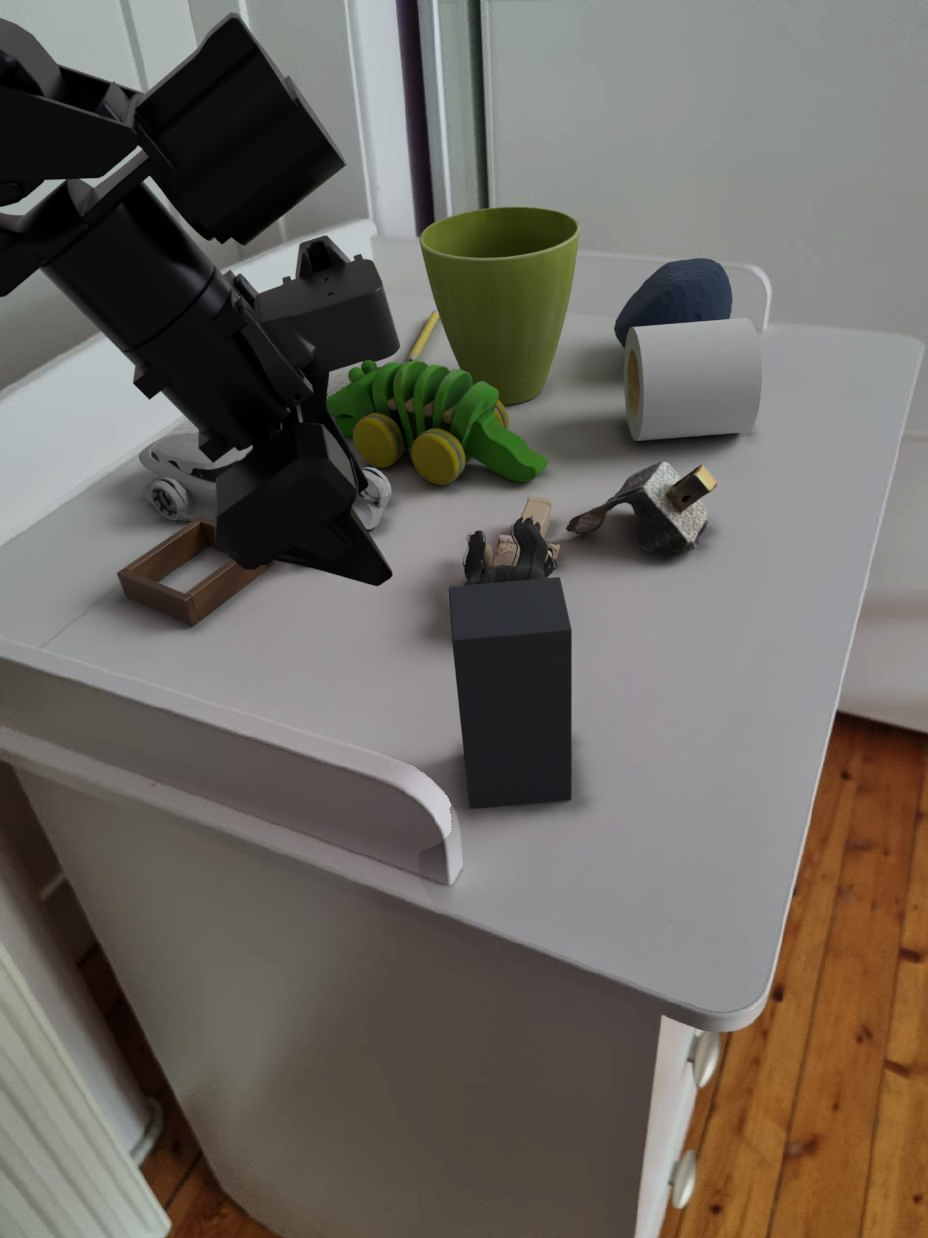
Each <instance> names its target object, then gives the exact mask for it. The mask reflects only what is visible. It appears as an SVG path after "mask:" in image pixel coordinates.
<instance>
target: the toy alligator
mask: <svg viewBox="0 0 928 1238" xmlns="http://www.w3.org/2000/svg"><path fill="white" fill-rule="evenodd" d="M347 378H348V381H349V382H350V383H348V384H347V385H345V386H343V387H342V388H340V389H338V390H337V391H336V392H334V393H332V394H331V395H329V396H327V399H326V401H327V403H328V405H329V407H330V409H331V411H332V413H333V415H334V417H335V419H336V421H337V423H338V425H339V427H340V429H341V431H342V432H343V434H344V436H345V437H349V438H352V441H353V444H354V447H355V450H356V451H357V453H358V455H359V456H360V457H361V458H362V459H363V460H364V461H365V462H366V463H368V464H369V465H370V466H372V467H374V468H378V469H384V468H385V469H386V468H388V467H389V466H392V465H394V464H395V463H397V461H398V460H400V458H401V457H402V455H403V454H404V453H405V452H406V451H408V453H409V456H410V460H411V462H412V464H413V465H414V468H415V470H416V471H417V472H418V473H419V475H420V476H421V477H422V478H424V479H425V480H426V481H428V482H430V483H431V484H434V485H438V486H446V485H448V484H450V483H452V482H454V481H456V480H457V479H458V478H460V475H461V474H462V473H463V471H464V469H465V466H466V463H468V461H470V460H471V459H474V460H476V461H478V462H479V463H480V464H482V465H484V466H485V467H486V468H489V470H491V471H493V472H495V473H496V474H498V475H500V476H502V477H504V478H505V479H508V480H510V481H513V482H516V483H517V482H518V483H525V482H530V481H531V480H533V479H535V478H536V477H538V476H539V475H540V474H541V473H542V472H543V471H544V470H545V468H547V466H548V465H549V459H548V457H546V456H545V455H542V454H540V453H538V452H535V451H534V450H533V449H532V448H530V446H529V445H528V444H527V443H526V442H525V441H524V440H523V439H522V437H521V436H519V435H517V433H515V432H512V431H510V430H509V428H510V427H509V426H510V419H509V415H508V411H507V409H506V407H505V405H503V404H502V403H501V402H500V401H499V400H498V395H499V392H498V390H497V389H495V388H494V387H492V386H490V385H489V384H487V383H486V382H484V381H480V382H478V383H476V384H474V385H473V383H472V377H471V375H470V374H469V373H468V372H466V371H463V370H461V369H460V368H457V369H453V370H450V369H449V368H448V367H447V366H445V365H441V364H431V365H429V364H428V363H427V362H425V361H421V360H416V361H407V362H404V363H403V362H402V363H401V362H400V363H399V362H388V363H385V364H383V365H382V366H378V365H377V362H374V361H371V360H366V361H363V362H361V365H360V367H358V366H355V367H352V368H351V369H349V371H348V373H347ZM472 385H473V386H472Z"/></svg>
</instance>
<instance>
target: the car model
mask: <svg viewBox="0 0 928 1238" xmlns="http://www.w3.org/2000/svg"><path fill="white" fill-rule="evenodd" d="M198 435H199V432H180V433H174V434H171V435H168V436H167V435H166V436H164V437H161V438H159V439H158V440H155V441H153V442H152V443H150V444H149V445H147V446H146V447H145V448H143V450H141V451H140V452H139V455H138V460H139V462H140V464H141V465H142V467H144V468H145V469H146V470H148V471H149V472H151V473H152V474H154V475H155V476H156V477H154V479H152V480H151V481H150V482H149V483H148V484H146V486H144V487H143V489H142V492H141V493H142V496H143V497H144V498H145V499H146V500H147V501H148V502H149V503H150V504H151V505H152V506H153V507H154V508H155V509H156V510H157V512H158V513H159V514H160V515H161V516H162V517H163V518H165V519H166V520H170V521H172V522H173V521H175V522H176V521H178V522H181V521H183V522H185V521H186V522H192V521H194V520H195V519H196V518H198V517H199V516H203V517H206V518H209V519H212V520H215V490H216V478H217V477H218V476H220V475H221V474H222V473H224V472H225V471H227V470H228V469H229V468H231V467H232V466H233V465H235V464H236V463H237V462H239V461H240V460H241V459H243V458H244V457H245V456H247V455H248V454H250V453H251V452H252V451H253V445H252V446H250V447H249V448H247V449H244V450H242V451H238V450H237V449H236V448H235V447H234V448H233V449H231V450H230V451H229V452H227V453H226V454H225V455H223V456H222V457H221V458H219V459H218V460H217V461H215V462H214V463H213V462H212V461H211V460H210V459H209V458H208V457H207V456H206V455H205V454H204V453H203V452H202V451H201V450H200V449H199V448H198ZM361 469H362V471H363V473H364V474H365V476H366V478H367V480H368V482H370V483H371V484H372V485H373V486H374V487H375V489H376V490H377V497H374V496H372V495H371V494H369V492H368V491H367V489H365V490H364V491H362V492H361V493H359V494H358V496H357V498H356V500H355V501H354V503H353V505H352V507H353V509H354V510H355V512H356V513H357V515H358V517H359V518H360V520H361V521H362V523H363V524H364V526H365V528H366V529H367V531H368V532H371V531H372V530H374V529H375V528H377V527H378V526H379V523H380V521H381V519H382V516H383V514H384V511H385V509H386V507H387V506H388V503H389V501H390V499H391V497H392V492H393V491H392V486H391V483H390V482H389V480H388V477H387V476H385V475H384V473H383V472H382V471H381V470H379V469H377V468H376V467H369V466H367V467H363V468H361Z"/></svg>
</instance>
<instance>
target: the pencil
mask: <svg viewBox="0 0 928 1238" xmlns="http://www.w3.org/2000/svg"><path fill="white" fill-rule="evenodd" d="M439 319H440V316H439V313H438V310H437V309H434V310H433V311H432V312H431V314H430V316H429V318H428V320H427V321H426V323H425V325H424V326H423V329H422V331H421V332H420V334H419V336H418V338H417V340H416V341H415V344H414V346H413V347H412V348H411V350H410V353H409V355H408V360H409V361H418V358H419V357H420V354H421V353H422V350H423V348H424V346H425V345H426V343H427V341H428V339H429V337H430V335H431V333H432V332H433V330H434V328H435V326H436V323H437V322H438V320H439ZM409 361H408V362H409Z"/></svg>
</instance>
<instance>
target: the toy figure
mask: <svg viewBox="0 0 928 1238" xmlns="http://www.w3.org/2000/svg"><path fill="white" fill-rule="evenodd" d="M551 509H552V499H551V498H548V497H547V498H546V497H538V496H537V497H536V496H527V501H526V504H525V505H524V508H523V510H522V512H521V515H520V517H519V518H518V519H517V520H514V521H513V523H512V524H511V525H510V531H509V533H510V535H507V534H497V541H496V551H495V554H494V553H493V550H492V548H491V545H490V544H489V543H487V538H486V534H485V533H484V531H483V530H482V529H481V530H479V529H477V530H476V531H474V532H473V531H471V532H469V533H468V534H467V535H466V537H465V538H466V541H467V547H466V550H465V553H464V555H463V558H462V567H463V573H464V576H465V578H464V579H463V581H462V582H461V584H460V585H459V586H464V585H476V584H487V583H498V582H509V581H521V580H532V579H543V578H549V576H551V574H553V572H554V571H555V570H557V568H558V563H557V562H556V560H557V559H558V556H559V554H560V550H561V545H560V544H559V543H556V544H553V543H547V542H546V540H545V538H546V535H547V533H548V530H549V527H550V517H551V511H552V510H551ZM466 553H467V554H466ZM553 560H554V561H553ZM465 580H466V581H465Z"/></svg>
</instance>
